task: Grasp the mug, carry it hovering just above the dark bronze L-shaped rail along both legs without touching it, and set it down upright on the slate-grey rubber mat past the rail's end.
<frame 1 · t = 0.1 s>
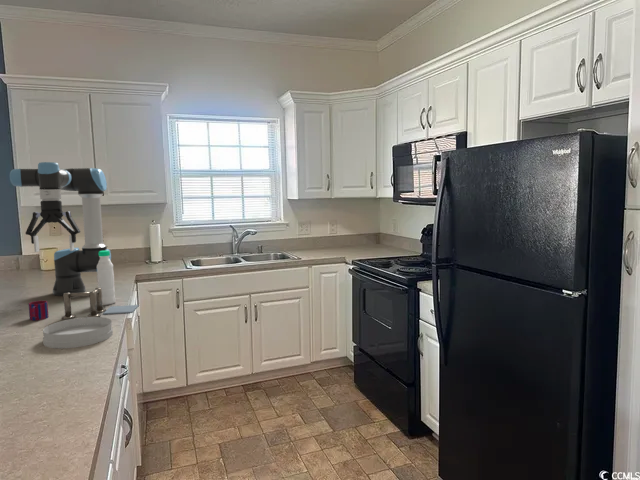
hand: (54, 251, 190), 28 cm above the worktop, fingers open, 13 cm apart
water bottle: (107, 303, 214), on the worktop
mat: (121, 310, 201), on the worktop
rail: (94, 316, 192), on the worktop
mug: (37, 319, 188), on the worktop
dish: (79, 339, 163), on the worktop
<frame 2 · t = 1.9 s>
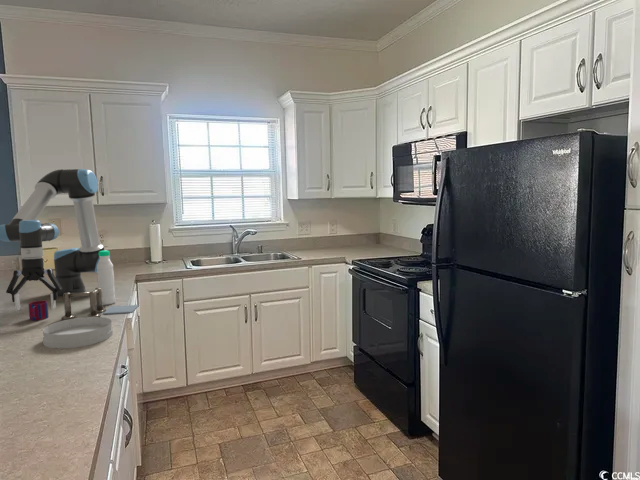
hand: (36, 308, 187), 4 cm above the worktop, fingers open, 13 cm apart
nothing on the worktop moved.
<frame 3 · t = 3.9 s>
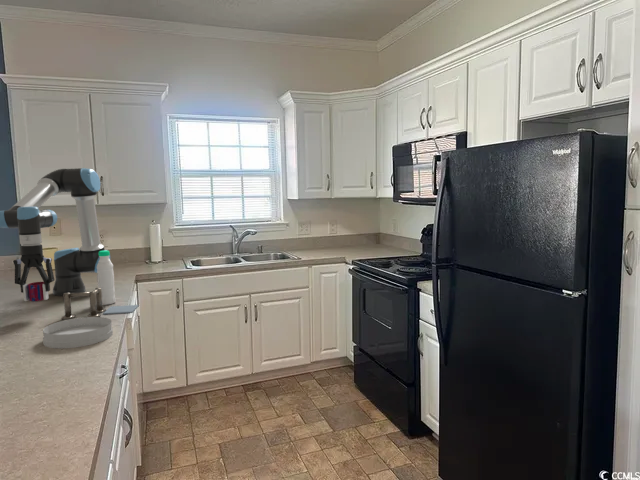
hand: (36, 299, 188), 8 cm above the worktop, fingers closed on mug, 7 cm apart
mug: (36, 300, 188), point 8 cm above the worktop, touching gripper
everything else where it was.
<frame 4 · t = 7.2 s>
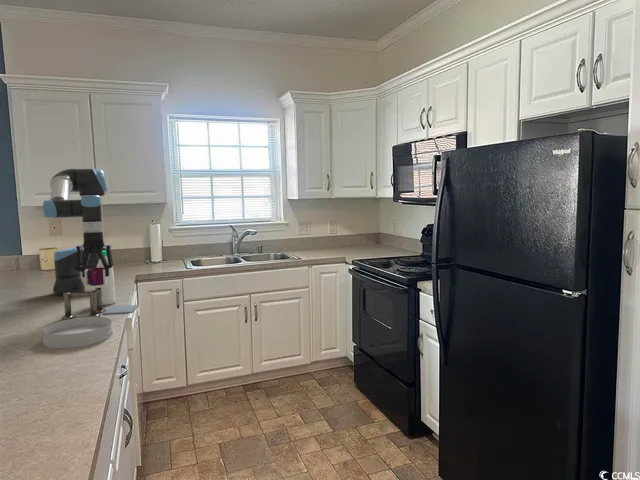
hand: (96, 284, 197), 12 cm above the worktop, fingers closed on mug, 7 cm apart
mug: (96, 285, 197), point 12 cm above the worktop, touching gripper
everything else where it was.
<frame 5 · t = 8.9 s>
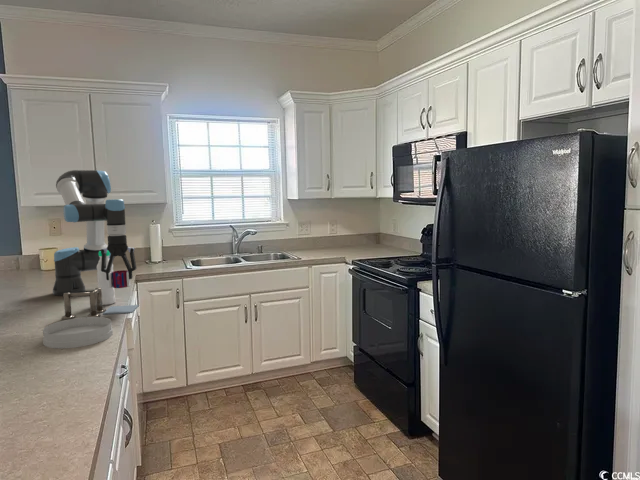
hand: (120, 286, 200), 11 cm above the worktop, fingers closed on mug, 7 cm apart
mug: (120, 287, 200), point 10 cm above the worktop, touching gripper
everything else where it was.
when the fingers open (2 cm above the worktop, at t = 10.7 s): mug stays where it is, resting on mat.
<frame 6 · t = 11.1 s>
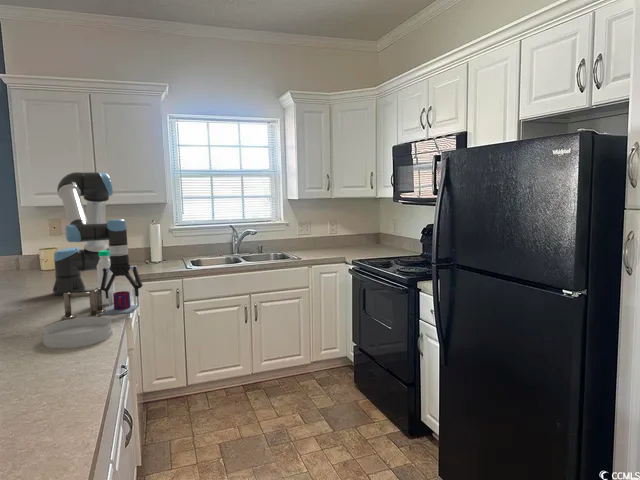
hand: (123, 304, 201), 2 cm above the worktop, fingers open, 10 cm apart
mug: (121, 309, 201), resting on mat
everything else where it was.
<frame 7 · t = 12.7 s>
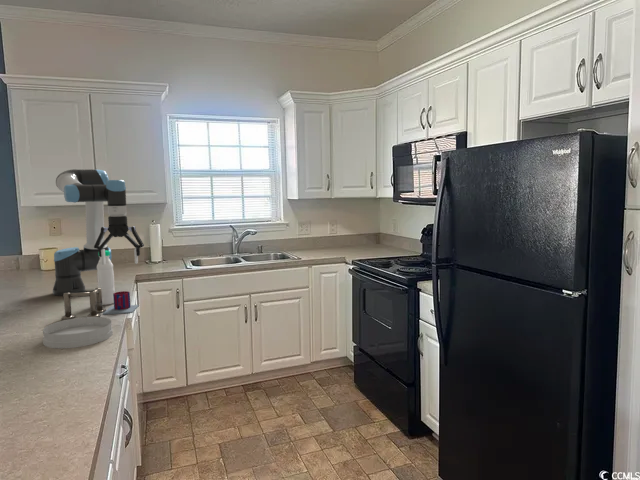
hand: (120, 263, 200), 21 cm above the worktop, fingers open, 13 cm apart
nothing on the worktop moved.
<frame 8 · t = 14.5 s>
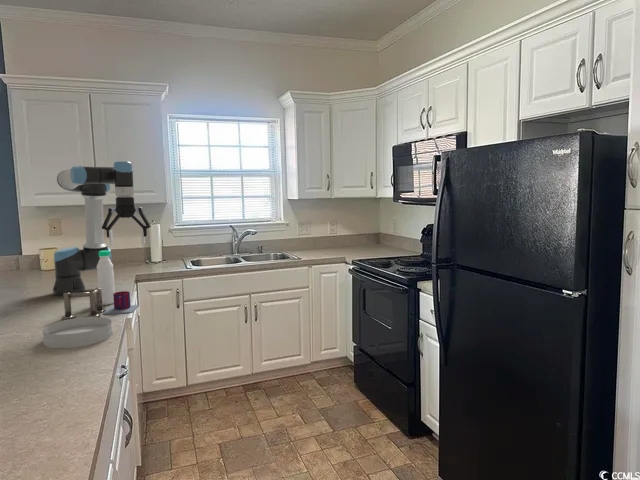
hand: (127, 244, 203), 29 cm above the worktop, fingers open, 13 cm apart
nothing on the worktop moved.
at the end: mug inside the target area on the mat (0.3 cm from its centre), point 0.4 cm above the mat's base; mug tilted 0°; mug touching mat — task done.
